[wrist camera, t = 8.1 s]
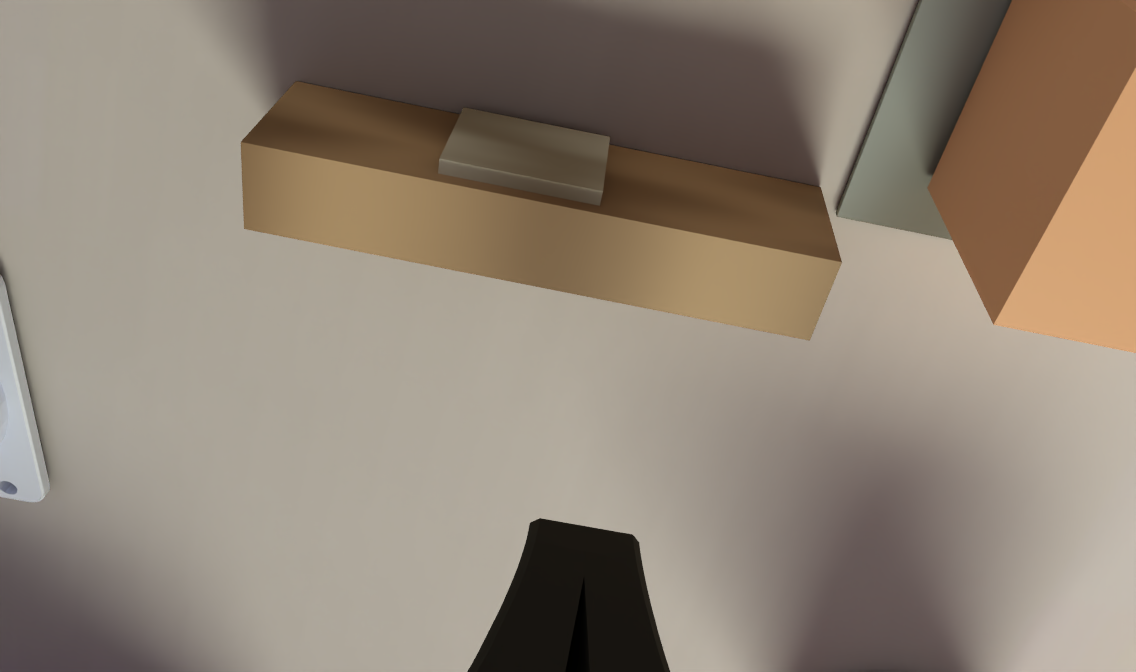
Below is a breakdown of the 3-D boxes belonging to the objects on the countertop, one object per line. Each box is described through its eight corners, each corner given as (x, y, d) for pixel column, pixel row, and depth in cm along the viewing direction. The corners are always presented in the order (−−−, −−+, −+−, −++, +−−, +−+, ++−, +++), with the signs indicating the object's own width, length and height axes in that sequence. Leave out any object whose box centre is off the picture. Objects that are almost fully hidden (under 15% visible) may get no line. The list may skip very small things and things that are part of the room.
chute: (296, 160, 20) (244, 228, 18) (296, -399, 14) (220, -411, 12) (1079, 317, 21) (1134, 404, 18) (1376, -164, 15) (1513, -130, 12)
